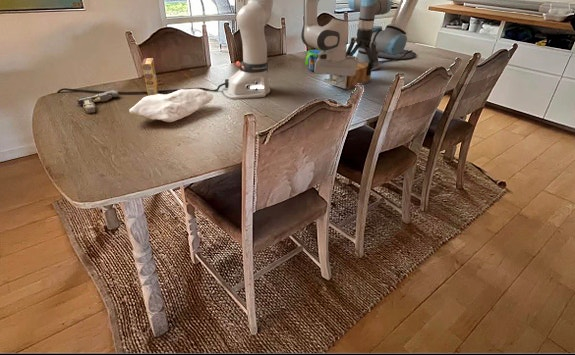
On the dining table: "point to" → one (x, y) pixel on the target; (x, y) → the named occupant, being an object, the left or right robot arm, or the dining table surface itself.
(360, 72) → the cabinet
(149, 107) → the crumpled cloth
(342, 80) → the drawer
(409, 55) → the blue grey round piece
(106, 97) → the handgun
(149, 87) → the candy box
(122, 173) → the dining table surface
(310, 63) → the snack cup
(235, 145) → the dining table surface
